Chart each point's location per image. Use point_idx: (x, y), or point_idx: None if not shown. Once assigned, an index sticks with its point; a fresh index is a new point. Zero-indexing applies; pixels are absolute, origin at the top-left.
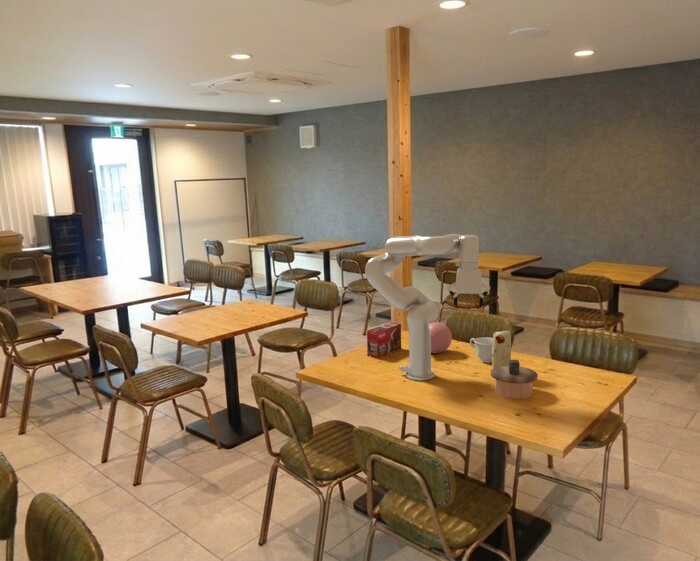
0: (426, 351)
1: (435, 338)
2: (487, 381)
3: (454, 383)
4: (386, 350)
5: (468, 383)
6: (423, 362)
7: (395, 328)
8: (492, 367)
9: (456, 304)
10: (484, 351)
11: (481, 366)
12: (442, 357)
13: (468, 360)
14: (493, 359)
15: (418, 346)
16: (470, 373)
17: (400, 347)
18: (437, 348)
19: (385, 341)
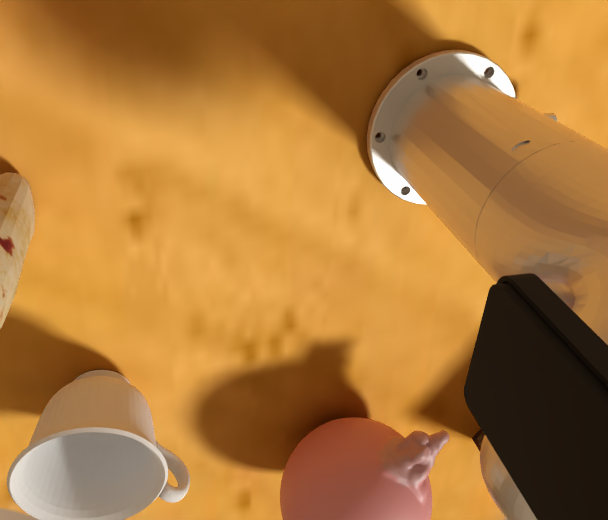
0: (491, 140)
1: (369, 460)
2: (57, 93)
3: (258, 31)
4: None
5: (173, 41)
6: (476, 103)
7: None
8: (29, 214)
9: (549, 311)
10: (101, 402)
11: (118, 318)
12: (311, 388)
13: (190, 379)
14: (7, 224)
15: (572, 136)
16: (170, 210)
17: (478, 440)
18: (343, 423)
19: None
